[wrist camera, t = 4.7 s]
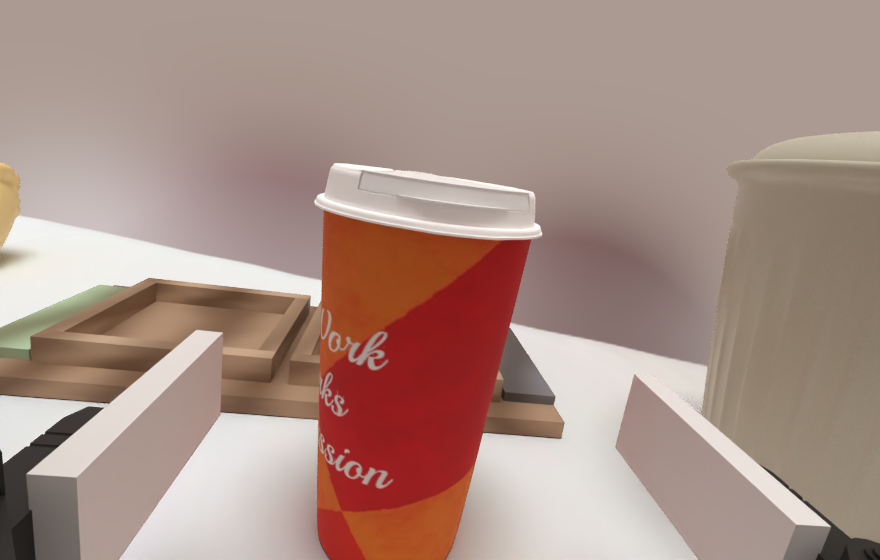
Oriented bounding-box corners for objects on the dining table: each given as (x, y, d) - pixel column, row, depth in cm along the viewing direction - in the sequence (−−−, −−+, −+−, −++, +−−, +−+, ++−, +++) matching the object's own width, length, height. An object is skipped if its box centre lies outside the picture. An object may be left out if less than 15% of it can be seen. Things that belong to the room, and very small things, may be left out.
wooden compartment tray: (-70, 388, 24) (-76, 342, 23) (114, 297, 39) (114, 267, 38) (561, 438, 28) (570, 399, 27) (502, 336, 43) (507, 311, 42)
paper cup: (297, 465, 22) (321, 157, 19) (456, 464, 24) (504, 183, 20) (275, 626, 15) (310, 164, 11) (508, 607, 16) (598, 203, 13)
